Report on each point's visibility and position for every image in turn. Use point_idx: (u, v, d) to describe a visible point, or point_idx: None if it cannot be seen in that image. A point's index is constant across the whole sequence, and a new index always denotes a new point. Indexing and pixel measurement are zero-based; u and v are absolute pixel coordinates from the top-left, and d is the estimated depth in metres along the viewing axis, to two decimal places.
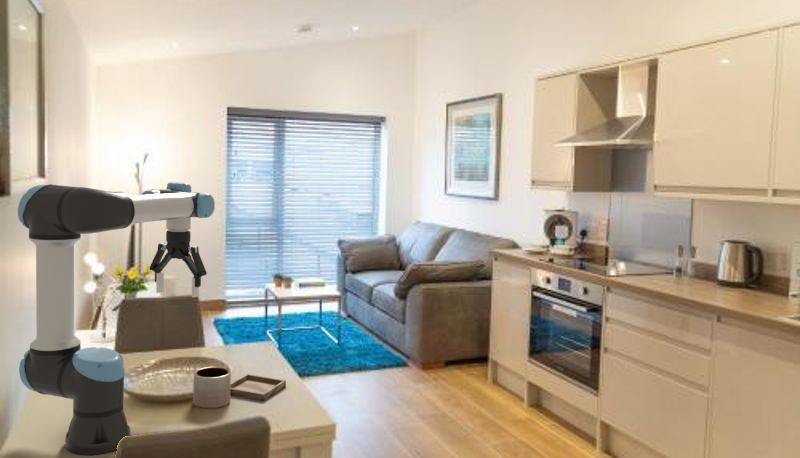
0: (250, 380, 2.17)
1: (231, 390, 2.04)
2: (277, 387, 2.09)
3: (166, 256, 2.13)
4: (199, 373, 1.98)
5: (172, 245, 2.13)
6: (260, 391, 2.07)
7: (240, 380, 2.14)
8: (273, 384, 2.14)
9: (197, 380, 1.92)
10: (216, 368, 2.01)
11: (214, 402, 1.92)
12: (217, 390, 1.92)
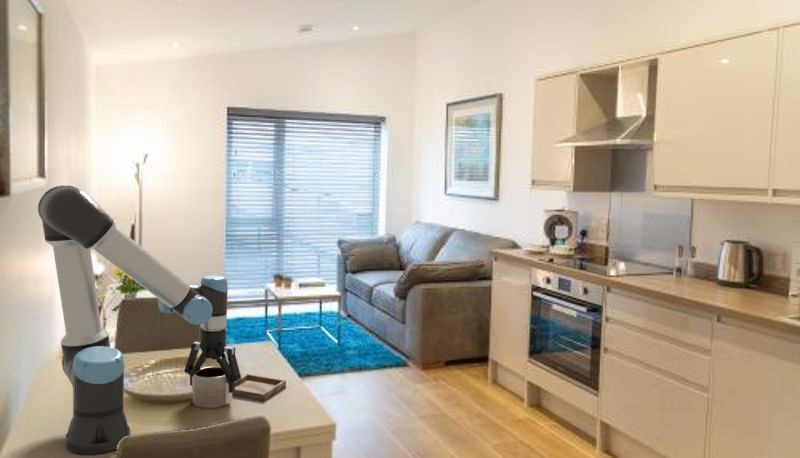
0: (250, 380, 2.17)
1: None
2: (277, 387, 2.09)
3: (201, 357, 1.95)
4: (199, 373, 1.98)
5: (206, 343, 1.95)
6: (260, 391, 2.07)
7: (240, 380, 2.14)
8: (273, 384, 2.14)
9: (197, 379, 1.92)
10: (216, 368, 2.01)
11: (214, 402, 1.92)
12: (217, 390, 1.92)
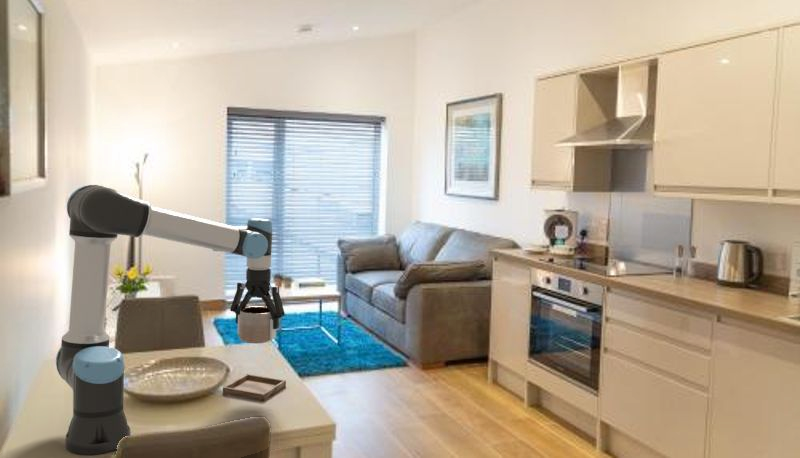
0: (250, 380, 2.17)
1: (231, 390, 2.04)
2: (277, 387, 2.09)
3: (247, 295, 2.06)
4: (244, 311, 2.08)
5: (252, 283, 2.06)
6: (260, 391, 2.07)
7: (240, 380, 2.14)
8: (273, 384, 2.14)
9: (244, 316, 2.03)
10: (260, 307, 2.12)
11: (260, 337, 2.03)
12: (262, 326, 2.03)
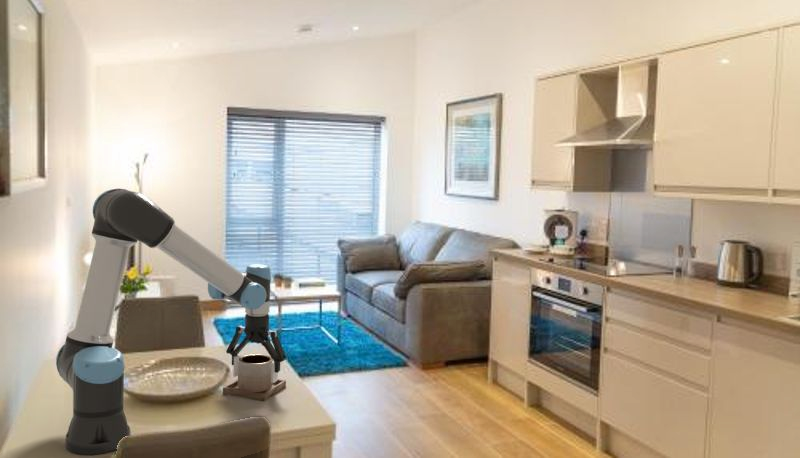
0: None
1: (231, 390, 2.04)
2: (277, 387, 2.09)
3: (244, 340, 2.08)
4: (243, 360, 2.10)
5: (251, 329, 2.07)
6: None
7: None
8: (273, 384, 2.14)
9: (243, 366, 2.05)
10: (258, 355, 2.13)
11: (258, 387, 2.05)
12: (261, 376, 2.05)
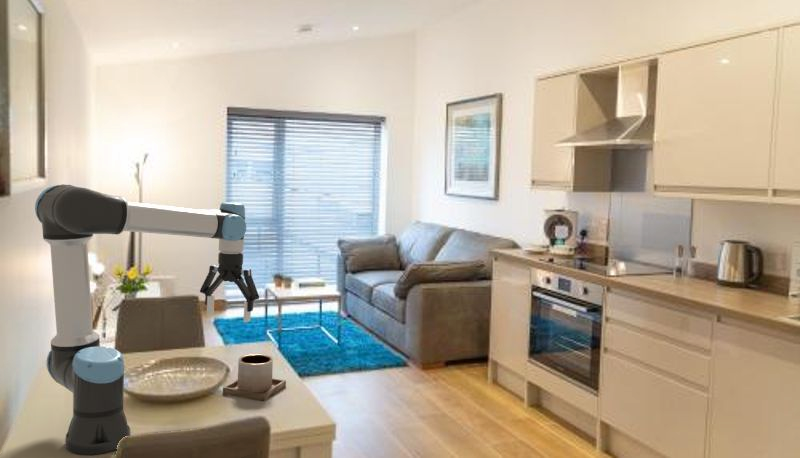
0: None
1: (231, 390, 2.04)
2: (277, 387, 2.09)
3: (218, 279, 2.06)
4: (243, 360, 2.10)
5: (224, 267, 2.05)
6: None
7: None
8: (273, 384, 2.14)
9: (243, 366, 2.05)
10: (258, 356, 2.13)
11: (258, 387, 2.05)
12: (261, 376, 2.05)
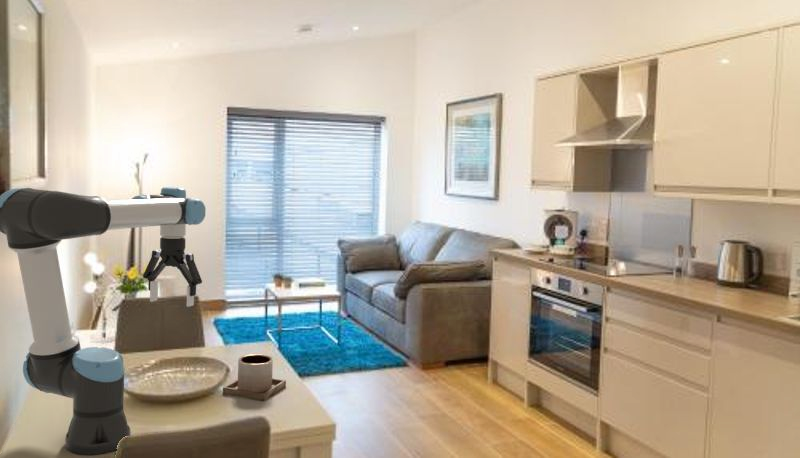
0: None
1: (231, 390, 2.04)
2: (277, 387, 2.09)
3: (160, 264, 2.05)
4: (243, 360, 2.10)
5: (166, 252, 2.05)
6: None
7: None
8: (273, 384, 2.14)
9: (242, 366, 2.05)
10: (258, 356, 2.13)
11: (258, 387, 2.05)
12: (261, 376, 2.05)
